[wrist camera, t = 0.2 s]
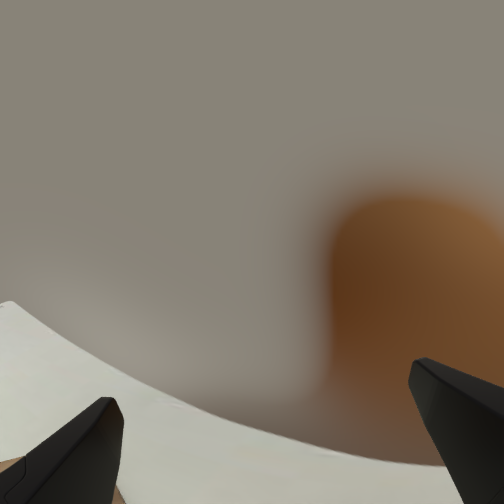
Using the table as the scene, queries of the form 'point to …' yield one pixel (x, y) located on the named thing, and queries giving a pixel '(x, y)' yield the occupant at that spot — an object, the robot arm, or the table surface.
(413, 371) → the robot arm
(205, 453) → the table surface
